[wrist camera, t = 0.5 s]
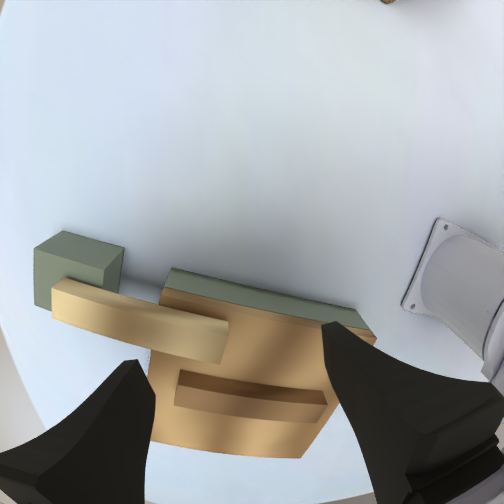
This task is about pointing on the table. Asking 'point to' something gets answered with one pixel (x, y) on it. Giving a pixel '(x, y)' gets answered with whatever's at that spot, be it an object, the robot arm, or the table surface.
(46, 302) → the block
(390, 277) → the table surface
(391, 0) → the wooden block
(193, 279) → the green piece
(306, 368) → the lid
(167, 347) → the light wooden bar
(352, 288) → the table surface
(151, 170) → the table surface
